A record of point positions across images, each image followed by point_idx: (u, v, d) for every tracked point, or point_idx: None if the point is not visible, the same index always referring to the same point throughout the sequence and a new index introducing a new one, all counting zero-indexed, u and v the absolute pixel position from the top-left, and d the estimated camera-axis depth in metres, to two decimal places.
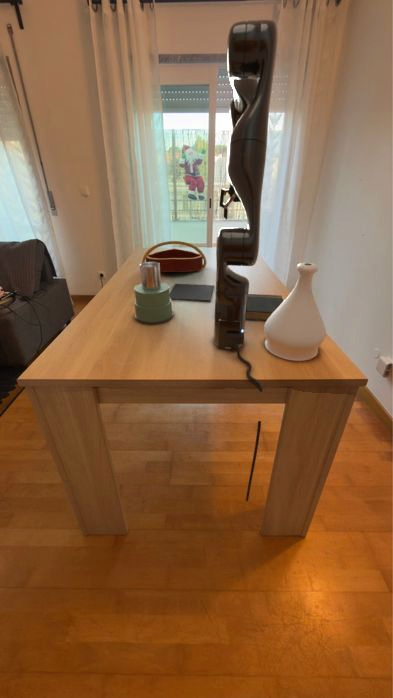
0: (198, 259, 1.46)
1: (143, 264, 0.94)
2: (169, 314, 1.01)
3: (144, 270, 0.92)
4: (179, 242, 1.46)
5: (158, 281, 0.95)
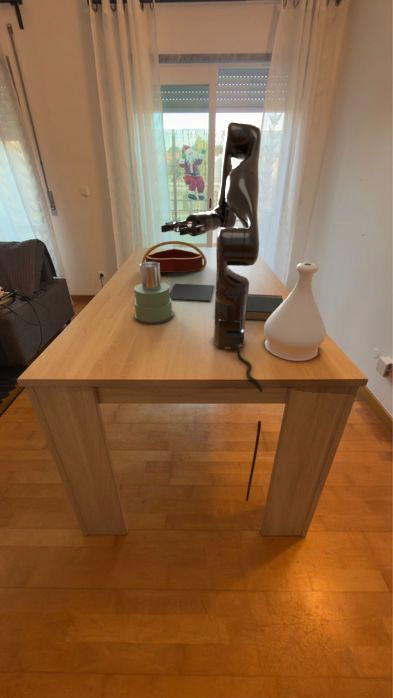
0: (198, 259, 1.46)
1: (143, 264, 0.94)
2: (169, 314, 1.01)
3: (144, 270, 0.92)
4: (179, 242, 1.46)
5: (158, 281, 0.95)
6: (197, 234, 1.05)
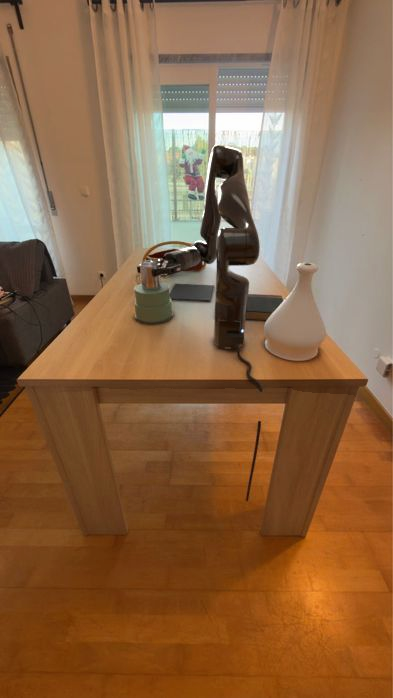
0: None
1: (143, 264, 0.94)
2: (169, 314, 1.01)
3: (144, 270, 0.92)
4: (179, 242, 1.46)
5: (158, 281, 0.95)
6: None
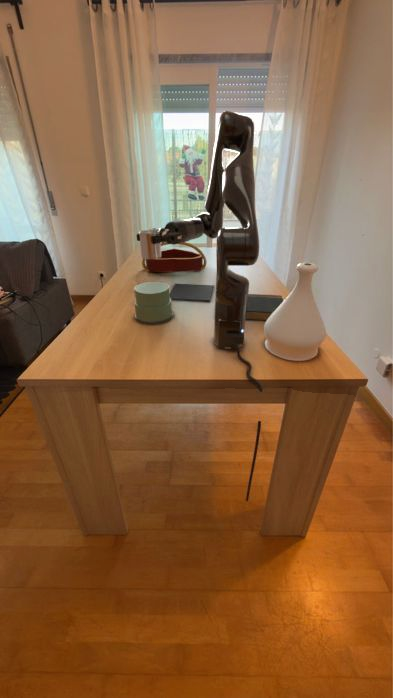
0: (198, 259, 1.46)
1: (142, 231, 0.91)
2: (169, 314, 1.01)
3: (143, 237, 0.90)
4: None
5: (158, 249, 0.92)
6: (176, 242, 0.99)
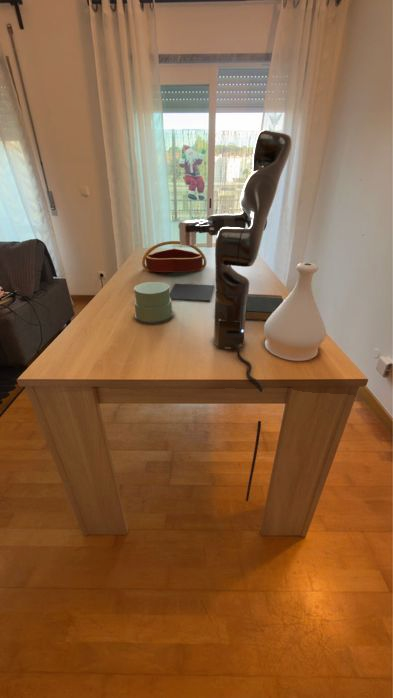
0: (198, 259, 1.46)
1: (182, 221, 1.08)
2: (169, 314, 1.01)
3: (180, 226, 1.07)
4: (179, 242, 1.46)
5: (191, 237, 1.08)
6: (213, 233, 1.12)
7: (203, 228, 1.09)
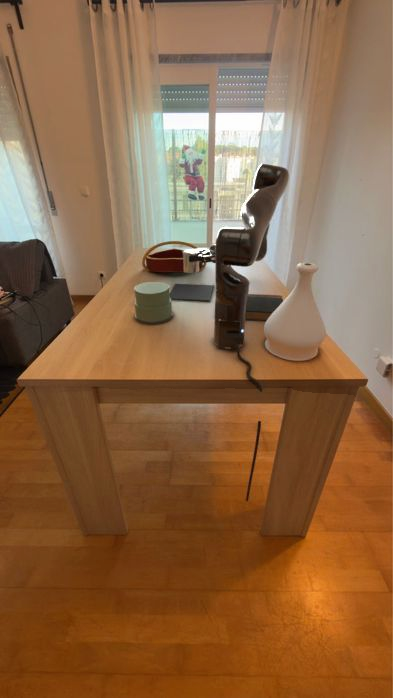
0: None
1: (186, 250, 1.15)
2: (169, 314, 1.01)
3: (184, 255, 1.14)
4: (179, 242, 1.46)
5: (194, 266, 1.15)
6: (215, 262, 1.18)
7: (205, 257, 1.15)
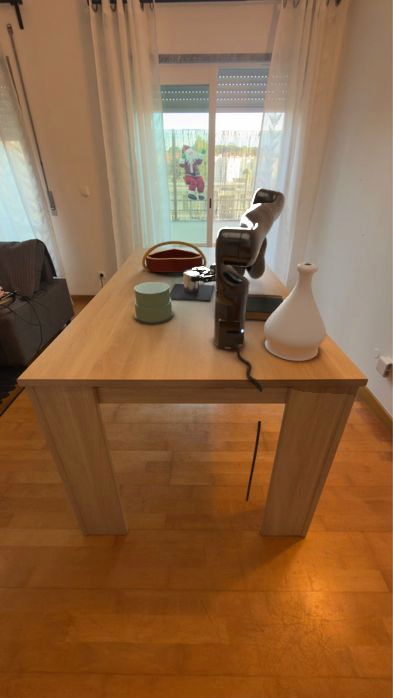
0: (198, 259, 1.46)
1: (186, 272, 1.20)
2: (169, 314, 1.01)
3: (184, 277, 1.19)
4: (179, 242, 1.46)
5: (194, 287, 1.20)
6: (214, 280, 1.23)
7: None
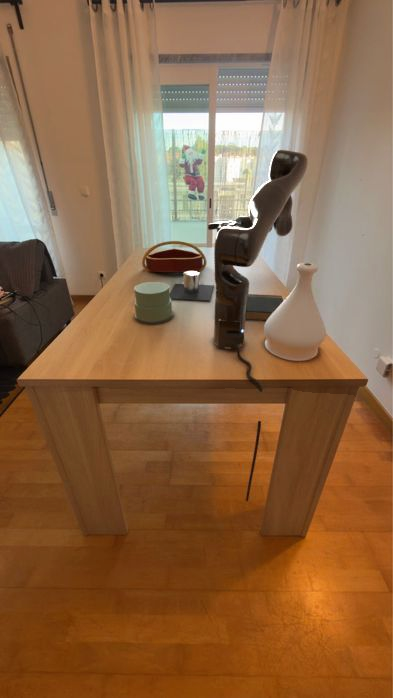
0: (198, 259, 1.46)
1: (186, 272, 1.20)
2: (169, 314, 1.01)
3: (184, 277, 1.19)
4: (179, 242, 1.46)
5: (194, 287, 1.20)
6: None
7: None
